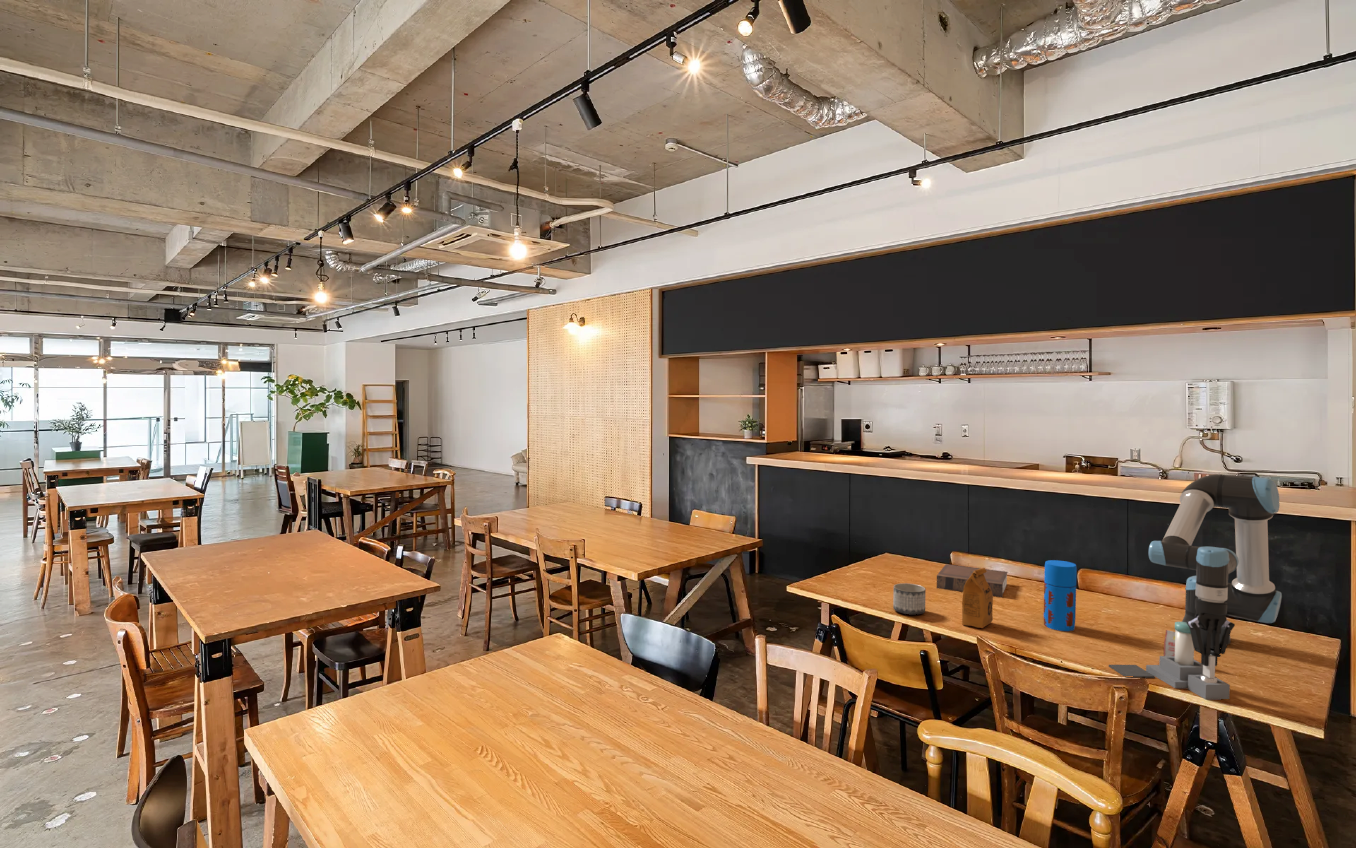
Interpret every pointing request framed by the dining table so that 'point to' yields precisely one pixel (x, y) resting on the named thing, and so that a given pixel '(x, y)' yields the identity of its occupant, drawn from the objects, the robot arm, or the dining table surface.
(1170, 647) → the white printed box
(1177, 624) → the white and teal cylinder
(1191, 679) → the housing
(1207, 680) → the shiny grey domed cylinder
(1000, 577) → the book
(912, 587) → the planter
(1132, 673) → the mat
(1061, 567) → the thermos
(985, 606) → the coffee package
